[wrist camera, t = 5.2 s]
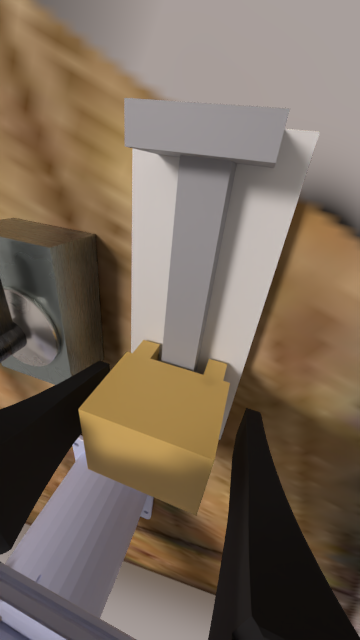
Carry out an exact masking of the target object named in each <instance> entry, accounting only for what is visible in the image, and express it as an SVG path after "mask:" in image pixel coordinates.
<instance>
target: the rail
mask: <svg viewBox="0 0 360 640" xmlns="http://www.w3.org/2000/svg"><path fill="white" fill-rule="evenodd" d="M288 114H289V108H273V107H272V108H271V107H258V106H241V105H227V104H226V105H225V104H211V103H196V102H181V101H165V100H150V99H134V98H125V146H126V147H130V148H133V171H132V311H131V353H133V352H134V351H135V350H136V349H137V347H138V346H139V345H140V344H141V342H142V341H143V340H146V341H149V342H153V343H156V344H160V346H159V358H158V361H160V362H163V363H166V364H170V365H173V366H176V367H180V368H183V369H186V370H189V371H193V372H196V373H199V374H202V375H204V372H205V369H206V366H207V363H208V360H209V359H211V360H215V361H218V362H222V363H225V364H227V367H226V371H225V376H224V380H223V381H225V382H229V383H230V385H229V390H228V395H227V400H226V405H225V410H224V415H223V420H222V425H221V430H220V435H219V440H220V439H221V436H222V433H223V430H224V427H225V424H226V421H227V418H228V415H229V412H230V409H231V406H232V402H233V399H234V396H235V393H236V390H237V387H238V384H239V381H240V378H241V375H242V372H243V368H244V365H245V362H246V359H247V356H248V353H249V350H250V347H251V344H252V341H253V338H254V335H255V331H256V328H257V325H258V322H259V319H260V316H261V313H262V310H263V307H264V304H265V301H266V297H267V294H268V291H269V288H270V285H271V282H272V279H273V276H274V273H275V270H276V267H277V264H278V260H279V257H280V254H281V251H282V248H283V245H284V242H285V239H286V236H287V233H288V230H289V226H290V223H291V220H292V217H293V214H294V211H295V208H296V205H297V202H298V199H299V196H300V193H301V189H302V186H303V183H304V180H305V177H306V174H307V171H308V168H309V165H310V162H311V159H312V156H313V152H314V149H315V146H316V143H317V140H318V137H319V134H320V132H318V131H306V130H293V129H285V126H286V122H287V118H288Z"/></svg>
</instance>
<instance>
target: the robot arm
mask: <svg viewBox="0 0 360 640" xmlns="http://www.w3.org/2000/svg"><path fill="white" fill-rule="evenodd" d="M109 372H110V367H109V364H108V363H105V362H102V361H98V362H96V363H94V364H92V365H91V366H89V367H87V368H85V369H84V370H82V371H80V372H78V373H77V374H75V375H73V376H71V377H70V378H68V379H66V380H64V381H62V382H60V383H59V384H57V385H55V386H53V387H51V388H49V389H47V390H45V391H43V392H41V393H39V394H37V395H35V396H32V397H30V398H28V399H26V400H23V401H21V402H18V403H16V404H14V405H11V406H8V407H6V408H3V409H0V554H3V553H6V552H7V551H9V550H10V549H11V548H12V547H13V544H14V542H15V541H16V539H17V537H18V535H19V533H20V531H21V530H22V527H23V526H24V524H25V522H26V520H27V518H28V517H29V515H30V513H31V511H32V509H33V508H34V506H35V504H36V503H37V501H38V499H39V497H40V496H41V494H42V492H43V490H44V489H45V487H46V485H47V484H48V482H49V481H50V479H51V477H52V476H53V474H54V472H55V471H56V469H57V468H58V466H59V464H60V463H61V461H62V460H63V458H64V457H65V455H66V453H67V452H68V451H69V449H70V448H71V446H72V445H73V450H74V455H75V460H76V462H75V463H74V465H73V466H72V468H71V469H70V471H69V472H68V474H67V475H66V476H65V478H64V479H63V481H62V482H61V484H60V485H59V486H58V488H57V489H56V491H55V492H54V494H53V495H52V496H51V498H50V499H49V501H48V502H47V504H46V505H45V507H44V508H43V509H42V511H41V512H40V514H39V515H38V517H37V518H36V519H35V521H34V522H33V524H32V525H31V527H30V528H29V530H28V531H27V532H26V534H25V535H24V537H23V538H22V540H21V541H20V543H19V544H18V545H17V547H16V548H15V550H14V551H13V552H12V554H11V555H10V557H9V558H8V560H7V561H6V563H5V564H3V563H2V562H0V640H136V639H134V638H133V637H131V636H129V635H127V634H126V633H124V632H122V631H120V630H119V629H117V628H115V627H113V626H112V625H110V624H108V623H107V622H105V621H103V620H101V619H100V617H101V614H102V612H103V609H104V607H105V604H106V601H107V599H108V596H109V594H110V592H111V590H112V588H113V585H114V583H115V580H116V577H117V575H118V572H119V570H120V567H121V565H122V562H123V560H124V557H125V554H126V552H127V549H128V547H129V544H130V542H131V539H132V536H133V534H134V531H135V529H136V526H137V524H138V521H139V518H140V516H141V517H143V518H145V519H150V518H151V515H152V507H153V498H154V497H152V496H149V495H147V494H145V493H142V492H140V491H138V490H136V489H133V488H131V487H129V486H126V485H124V484H122V483H119V482H117V481H115V480H112V479H110V478H108V477H105V476H103V475H101V474H99V473H96V472H94V471H92V470H89V469H88V467H87V460H86V454H85V448H84V442H83V436H81V433H82V429H81V423H80V417H79V410H78V409H79V408H80V406H81V405H82V404H83V403H84V402H85V401H86V399H87V398H88V397H89V396H90V395H91V393H92V392H93V391H94V390H95V389H96V388H97V386H98V385H99V384H100V383H101V382H102V380H103V379H104V378H105V377H106V376H107V375H108V373H109ZM208 640H360V637H359V636H358V634H357V632H356V631H355V629H354V627H353V626H352V624H351V622H350V621H349V619H348V617H347V615H346V614H345V612H344V610H343V609H342V607H341V605H340V603H339V602H338V600H337V598H336V597H335V595H334V593H333V591H332V589H331V588H330V586H329V584H328V582H327V580H326V578H325V577H324V575H323V573H322V571H321V569H320V567H319V565H318V564H317V562H316V560H315V558H314V556H313V554H312V552H311V550H310V548H309V546H308V544H307V542H306V540H305V538H304V536H303V534H302V532H301V530H300V528H299V525H298V523H297V521H296V519H295V517H294V514H293V512H292V510H291V507H290V505H289V503H288V500H287V498H286V496H285V493H284V490H283V488H282V485H281V483H280V480H279V477H278V474H277V472H276V469H275V466H274V463H273V459H272V456H271V453H270V450H269V446H268V443H267V439H266V435H265V431H264V427H263V422H262V416H261V414H260V412H257V411H254V410H251V409H248V408H246V410H245V413H244V416H243V418H242V421H241V424H240V426H239V429H238V432H237V434H236V439H235V445H234V451H233V457H232V471H231V485H230V500H229V513H228V522H227V529H226V536H225V542H224V549H223V555H222V561H221V568H220V574H219V580H218V586H217V592H216V598H215V604H214V610H213V615H212V621H211V627H210V633H209V638H208Z"/></svg>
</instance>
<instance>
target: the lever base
mask: <svg viewBox="0 0 360 640" xmlns="http://www.w3.org/2000/svg"><path fill="white" fill-rule="evenodd" d="M0 279H1V282H2V286H3V289H4V293H5V296H6V300H7V303H8V306H9V310H10V313H11V317H12V320H13V322H14V323H16V324H17V325H18V326H19V327H20V328H21V329H22V330H23V332H24V334H25V336H26V339H27V344H26V346H25V347H23V348H22V349H20V350H19V351H17V352H16V353H14V354H13V355H11V356H10V357H8V358H7V359H5V360H4V361H2V362H1V363H2V366H5V367H7V368H10V369H13V370H16V371H19V372H21V373H24V374H27V375H30V376H32V377H35V378H38V379H41V380H44V381H46V382H49V383H52V384H55V385H57V384H59V383H60V382H62V381H64V380H66V379H68V378H70V377H71V376H73V375H75V374H77V373H78V372H80V371H82V370H84V369H85V368H87V367H89V366H91V365H92V364H94V363H96V362H98V361H103V360H104V353H103V339H102V324H101V309H100V294H99V280H98V265H97V250H96V235H95V234H91V233H86V232H81V231H76V230H71V229H66V228H61V227H56V226H51V225H46V224H41V223H36V222H31V221H26V220H21V219H16V218H10V219H2V220H0Z"/></svg>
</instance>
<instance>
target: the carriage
mask: <svg viewBox="0 0 360 640" xmlns="http://www.w3.org/2000/svg"><path fill="white" fill-rule="evenodd" d="M159 346H160V344H156V343H153V342H149V341H146V340H143V341H142V342H141V344H140V345H139V346H138V347H137V349H136V350H135V351H134V352H133V353H130V352H126V353H125V355H124V356H123V357H122V358H121V359H120V360H119V362H118V363H117V364H116V365H115V366H114V367H113V369H112V370H111V371H110V372H109V373H108V375H107V376H106V377H105V378H104V379H103V380H102V382H101V383H100V384H99V385H98V386H97V388H96V389H95V390H94V391H93V392H92V393H91V395H90V396H89V397H88V398H87V399H86V401H85V402H84V403H83V404H82V405H81V406H80V408H79V409H78V410H79V417H80V423H81V429H82V435H83V442H84V448H85V454H86V460H87V467H88V469H89V470H92V471H94V472H96V473H99V474H101V475H103V476H105V477H108V478H110V479H112V480H115V481H117V482H119V483H122V484H124V485H126V486H129V487H131V488H133V489H136V490H138V491H140V492H142V493H145V494H147V495H149V496H152V497H154V498H156V499H159V500H161V501H163V502H166V503H168V504H170V505H173V506H175V507H177V508H180V509H182V510H184V511H186V512H189V513H191V514H193V515H197V512H198V509H199V506H200V503H201V500H202V497H203V494H204V491H205V488H206V485H207V482H208V479H209V476H210V473H211V469H212V466H213V463H214V460H215V455H216V450H217V445H218V440H219V435H220V430H221V425H222V420H223V415H224V410H225V405H226V400H227V395H228V390H229V385H230V383H229V382H225V381H223V380H224V376H225V371H226V367H227V364H225V363H222V362H218V361H215V360H211V359H209V360H208V363H207V366H206V369H205V372H204V375H202V374H199V373H196V372H193V371H189V370H186V369H183V368H180V367H176V366H173V365H170V364H166V363H163V362H160V361H158V358H159Z"/></svg>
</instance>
